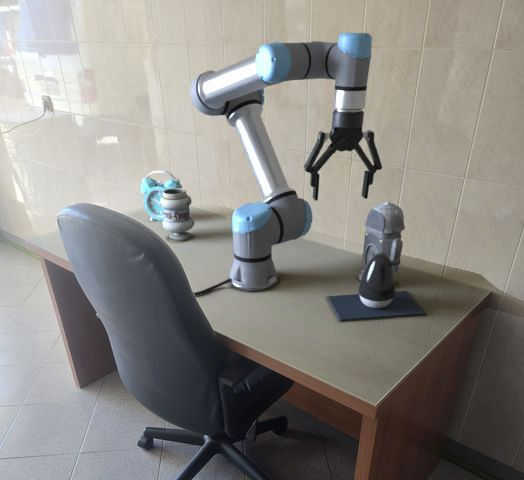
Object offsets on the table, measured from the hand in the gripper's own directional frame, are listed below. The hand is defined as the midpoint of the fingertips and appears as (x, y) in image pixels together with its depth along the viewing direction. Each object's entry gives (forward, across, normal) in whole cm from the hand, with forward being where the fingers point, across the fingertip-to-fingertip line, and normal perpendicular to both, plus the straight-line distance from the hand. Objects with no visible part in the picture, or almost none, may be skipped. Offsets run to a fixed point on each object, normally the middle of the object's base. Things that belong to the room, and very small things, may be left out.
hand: (339, 198), depth 125 cm
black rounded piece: (+28, -10, +11) cm, 31 cm away
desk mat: (+28, -10, +11) cm, 32 cm away
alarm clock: (+31, +52, -80) cm, 101 cm away
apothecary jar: (+30, +46, -56) cm, 78 cm away
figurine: (+28, -17, -5) cm, 33 cm away
